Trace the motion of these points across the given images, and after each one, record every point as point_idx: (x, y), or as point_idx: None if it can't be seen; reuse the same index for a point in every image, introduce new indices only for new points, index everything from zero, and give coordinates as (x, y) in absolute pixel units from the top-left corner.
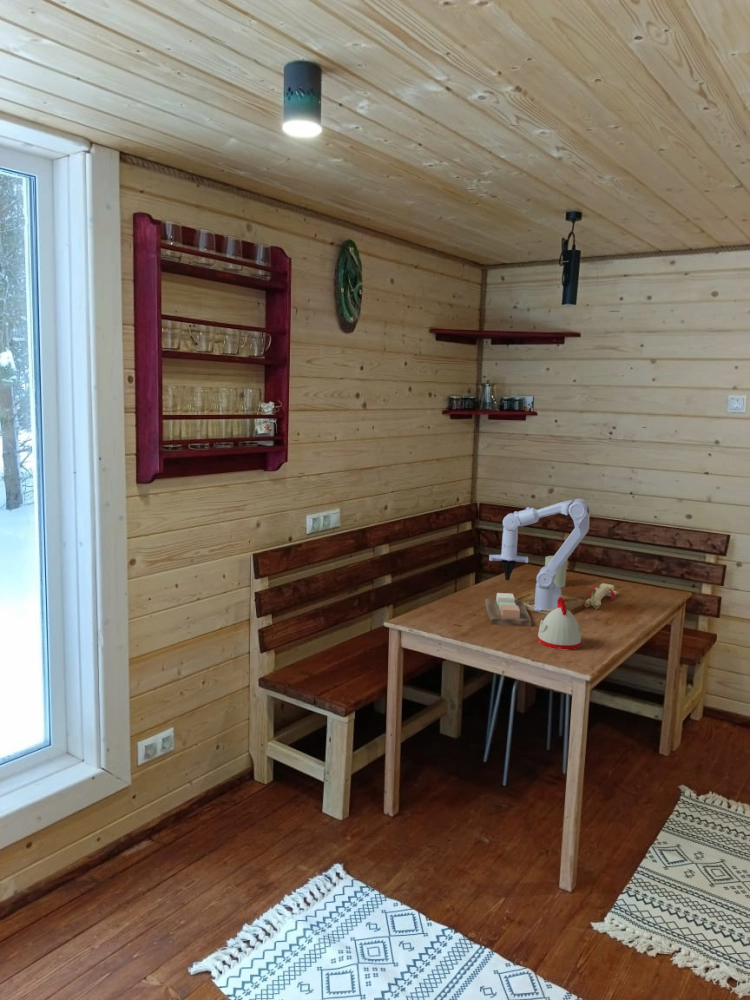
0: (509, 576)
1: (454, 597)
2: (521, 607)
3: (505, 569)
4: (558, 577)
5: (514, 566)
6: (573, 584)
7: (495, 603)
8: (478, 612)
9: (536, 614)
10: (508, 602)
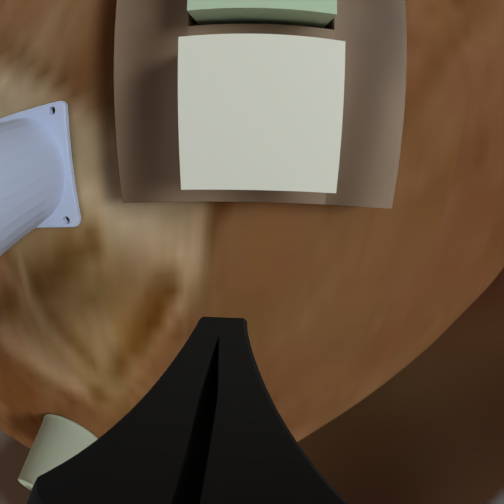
0: (191, 347)
1: (483, 284)
2: (142, 30)
3: (266, 440)
4: (44, 440)
5: (57, 471)
6: (35, 425)
7: None
8: (440, 24)
9: (70, 39)
10: (246, 6)
